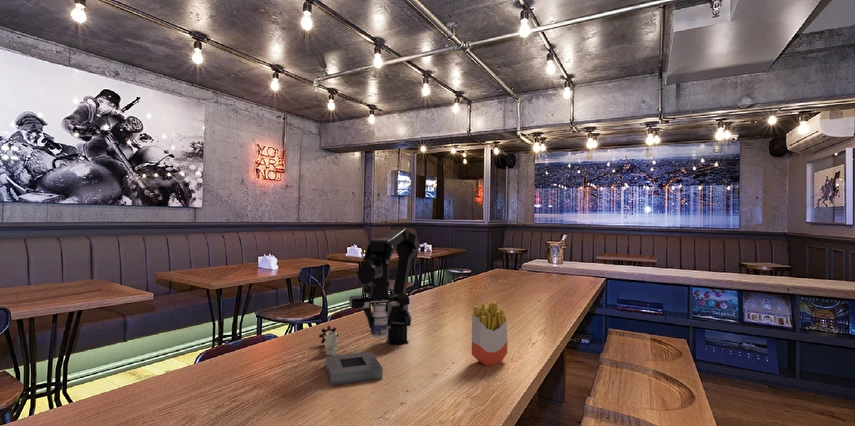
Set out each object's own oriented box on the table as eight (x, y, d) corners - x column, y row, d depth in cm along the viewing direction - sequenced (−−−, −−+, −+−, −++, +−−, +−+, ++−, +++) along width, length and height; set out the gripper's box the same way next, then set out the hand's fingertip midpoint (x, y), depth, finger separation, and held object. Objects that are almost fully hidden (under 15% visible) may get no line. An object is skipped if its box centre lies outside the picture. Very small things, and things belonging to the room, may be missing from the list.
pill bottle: (370, 332, 126) (371, 302, 126) (387, 332, 127) (388, 303, 127) (369, 337, 121) (370, 306, 121) (387, 337, 121) (387, 306, 121)
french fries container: (508, 361, 122) (508, 304, 122) (480, 367, 116) (481, 307, 116) (498, 356, 125) (499, 301, 126) (471, 362, 120) (472, 304, 120)
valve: (342, 354, 125) (337, 343, 137) (342, 334, 126) (338, 324, 137) (321, 356, 123) (318, 345, 135) (321, 336, 123) (319, 326, 135)
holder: (371, 361, 120) (371, 351, 120) (382, 378, 107) (382, 368, 107) (325, 366, 115) (325, 356, 115) (330, 385, 102) (330, 374, 102)
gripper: (400, 274, 135) (399, 318, 135) (346, 276, 128) (345, 323, 128) (410, 278, 124) (409, 327, 124) (352, 281, 118) (351, 332, 118)
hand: (379, 327), depth 124 cm, fingers closed on pill bottle, 5 cm apart
